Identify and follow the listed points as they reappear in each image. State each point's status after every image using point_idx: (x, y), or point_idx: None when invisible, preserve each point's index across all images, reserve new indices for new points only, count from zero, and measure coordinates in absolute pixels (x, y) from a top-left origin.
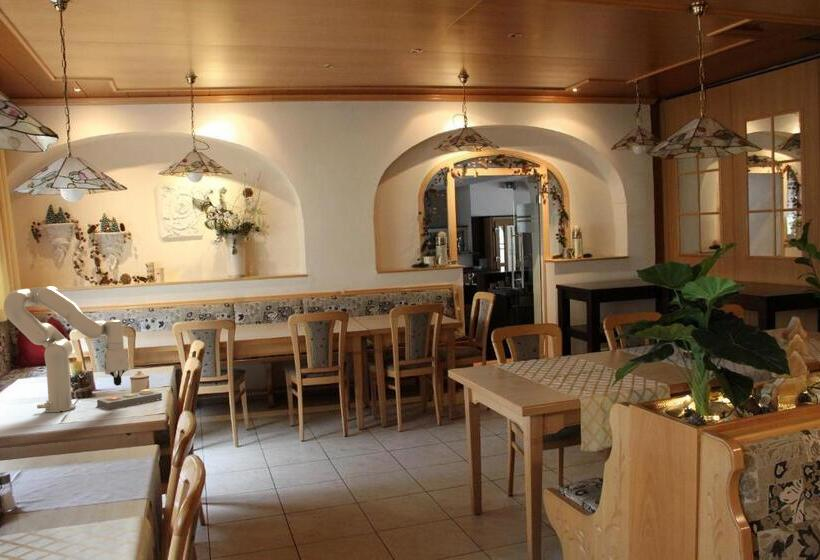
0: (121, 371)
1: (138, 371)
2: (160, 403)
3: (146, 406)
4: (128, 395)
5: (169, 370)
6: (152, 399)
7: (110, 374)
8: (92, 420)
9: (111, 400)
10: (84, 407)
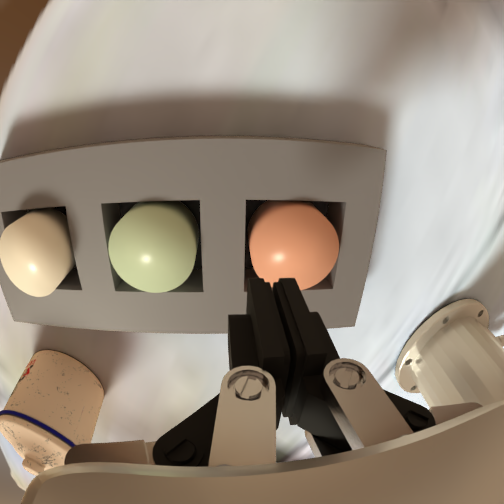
0: (234, 452)
1: (35, 470)
2: (49, 39)
3: (147, 11)
4: (163, 249)
5: (15, 477)
6: (40, 152)
7: (418, 412)
8: (490, 17)
9: (325, 217)
10: (389, 317)
